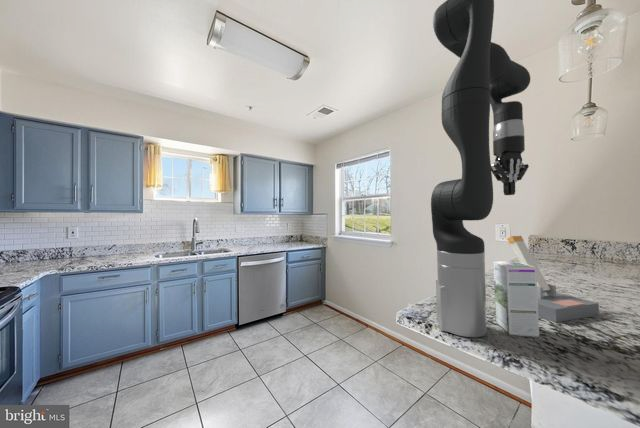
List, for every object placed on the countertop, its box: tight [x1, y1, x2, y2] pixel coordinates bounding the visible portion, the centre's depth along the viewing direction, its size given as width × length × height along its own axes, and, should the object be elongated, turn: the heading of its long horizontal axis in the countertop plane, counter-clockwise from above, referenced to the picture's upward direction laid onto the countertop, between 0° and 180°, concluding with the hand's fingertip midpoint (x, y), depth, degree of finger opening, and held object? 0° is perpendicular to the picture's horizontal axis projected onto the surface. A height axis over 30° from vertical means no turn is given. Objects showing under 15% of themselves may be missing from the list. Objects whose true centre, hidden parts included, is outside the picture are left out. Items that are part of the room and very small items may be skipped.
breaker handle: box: [506, 235, 550, 293], centre depth 67 cm, size 2×3×16 cm, turn 102°
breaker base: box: [537, 283, 600, 323], centre depth 63 cm, size 14×14×6 cm
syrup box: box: [493, 260, 540, 338], centre depth 52 cm, size 6×6×14 cm
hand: (509, 194), depth 73 cm, fingers closed
